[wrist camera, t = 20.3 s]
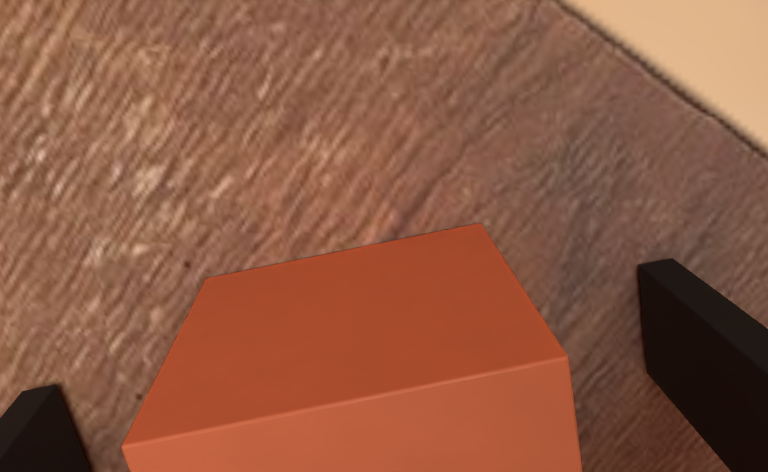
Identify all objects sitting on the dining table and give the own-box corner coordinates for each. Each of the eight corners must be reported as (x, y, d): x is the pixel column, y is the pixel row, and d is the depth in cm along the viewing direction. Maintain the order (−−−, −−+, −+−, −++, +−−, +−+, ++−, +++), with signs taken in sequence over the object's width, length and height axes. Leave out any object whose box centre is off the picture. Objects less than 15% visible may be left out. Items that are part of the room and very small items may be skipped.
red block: (481, 221, 15) (569, 356, 9) (517, 456, 17) (609, 688, 11) (205, 277, 15) (119, 447, 9) (272, 505, 17) (236, 762, 11)
